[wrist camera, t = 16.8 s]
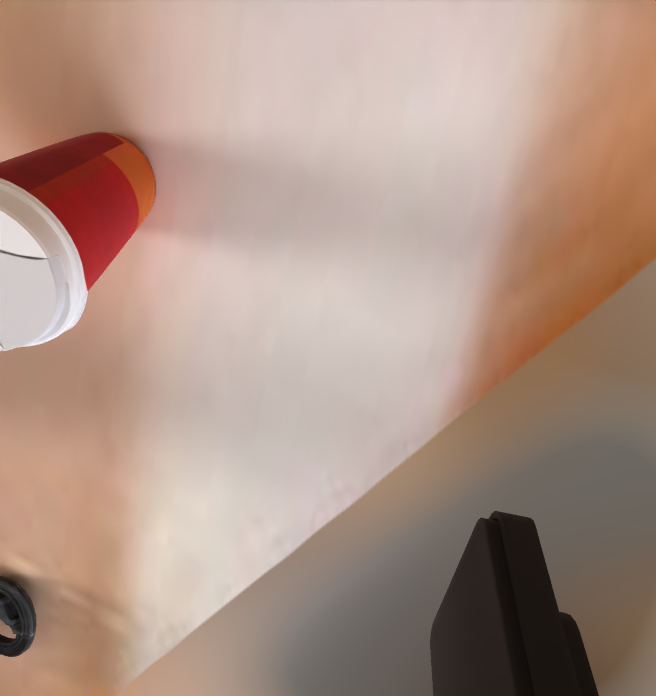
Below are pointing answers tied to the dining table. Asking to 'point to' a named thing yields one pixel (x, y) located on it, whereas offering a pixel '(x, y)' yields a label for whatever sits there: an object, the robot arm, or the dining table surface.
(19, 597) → the milk frother
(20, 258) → the paper cup
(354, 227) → the dining table surface
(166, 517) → the dining table surface
